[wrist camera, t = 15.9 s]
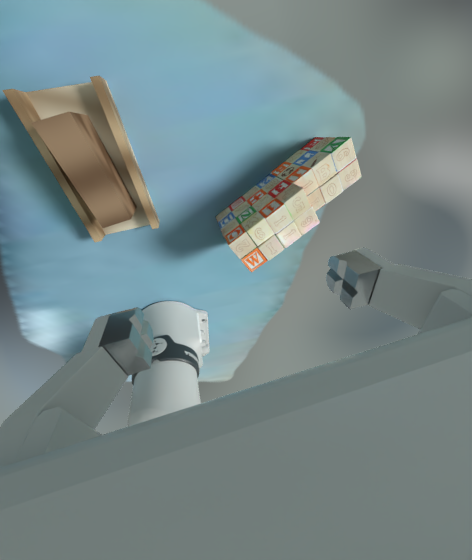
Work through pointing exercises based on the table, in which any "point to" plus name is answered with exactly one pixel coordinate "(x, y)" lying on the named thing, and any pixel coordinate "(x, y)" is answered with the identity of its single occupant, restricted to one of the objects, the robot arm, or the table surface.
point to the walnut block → (87, 166)
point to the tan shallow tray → (111, 131)
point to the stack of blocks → (288, 200)
